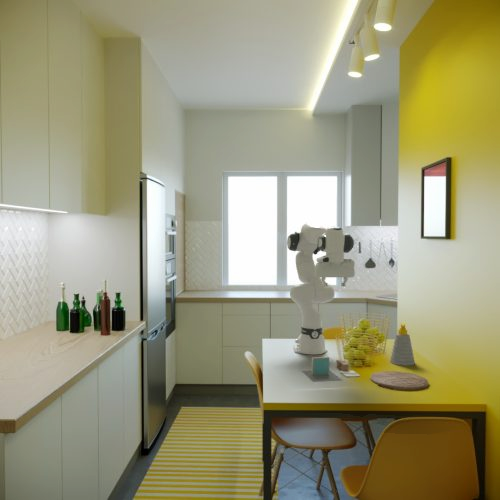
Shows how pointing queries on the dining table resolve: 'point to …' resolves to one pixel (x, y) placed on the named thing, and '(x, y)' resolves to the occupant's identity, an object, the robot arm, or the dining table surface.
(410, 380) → the trivet
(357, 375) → the turner
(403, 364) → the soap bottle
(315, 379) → the mat
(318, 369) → the tile
